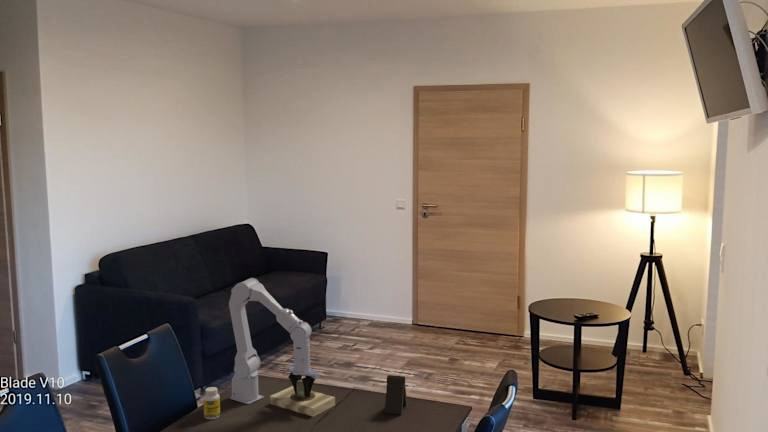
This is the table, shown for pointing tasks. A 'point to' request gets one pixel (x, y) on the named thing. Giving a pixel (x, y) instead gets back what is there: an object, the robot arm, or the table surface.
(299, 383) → the green peg
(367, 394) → the table surface
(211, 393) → the supplement bottle
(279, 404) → the socket board
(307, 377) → the robot arm
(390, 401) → the phone stand
